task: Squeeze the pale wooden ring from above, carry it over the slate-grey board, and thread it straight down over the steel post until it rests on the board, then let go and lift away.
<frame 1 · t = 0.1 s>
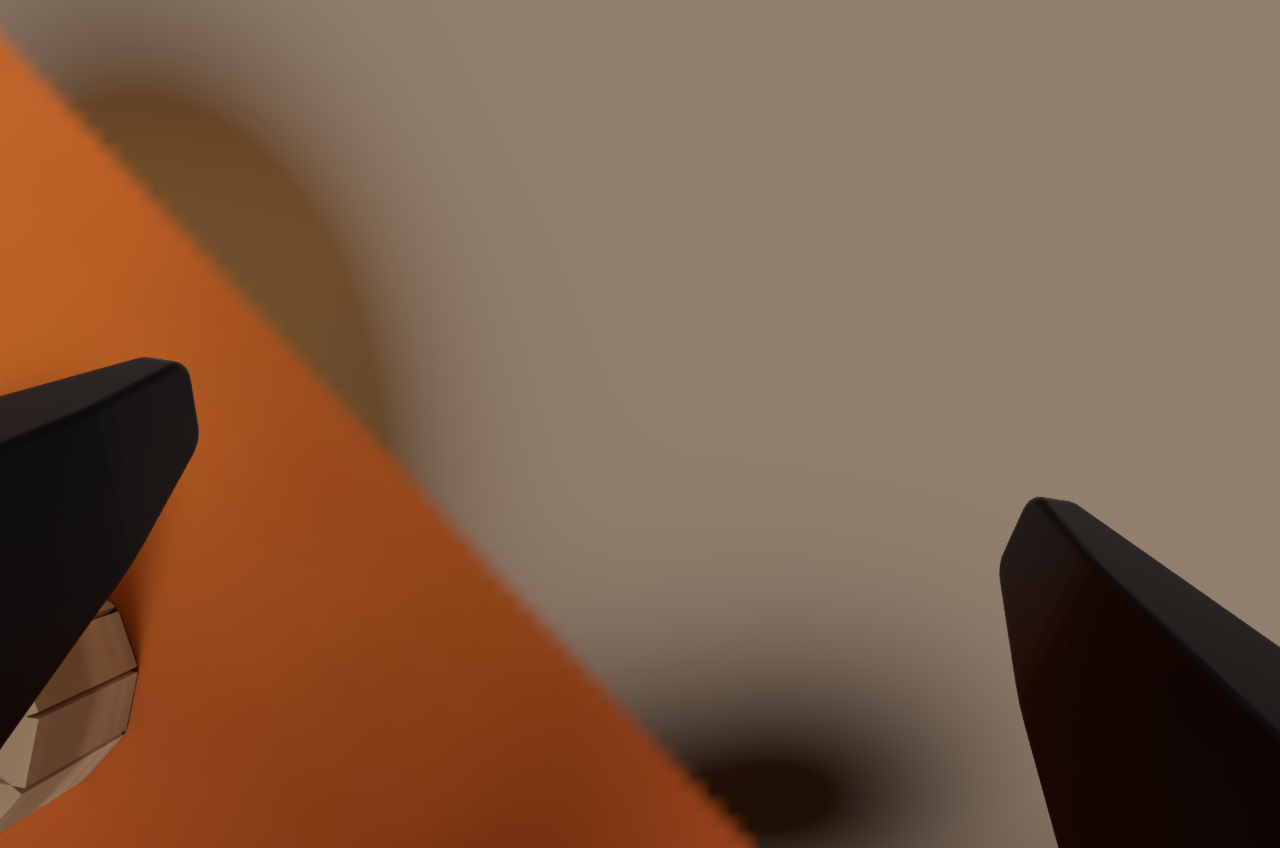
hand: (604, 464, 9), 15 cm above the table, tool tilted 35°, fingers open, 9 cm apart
wooden ring: (13, 678, 24), on the table
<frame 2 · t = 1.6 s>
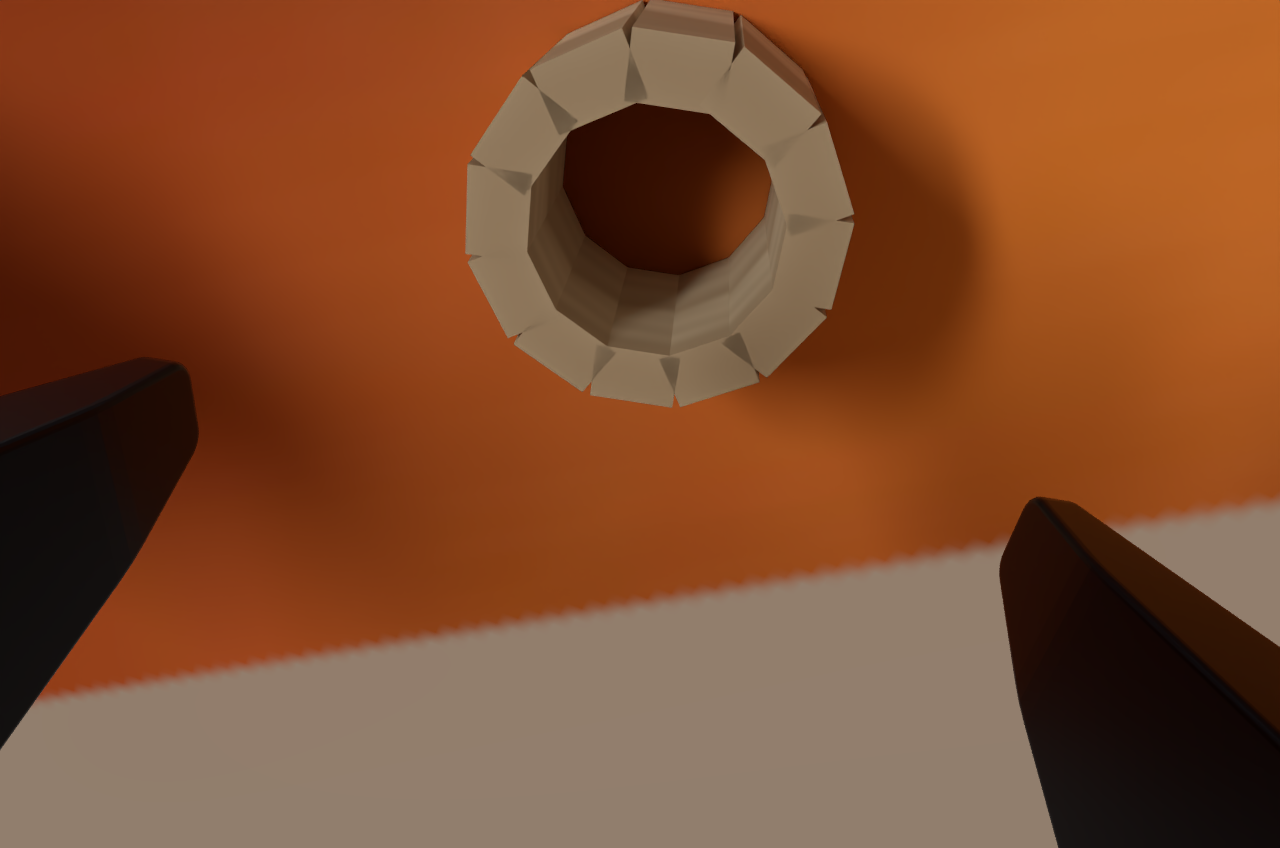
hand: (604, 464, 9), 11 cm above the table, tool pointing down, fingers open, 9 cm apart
wooden ring: (667, 174, 19), on the table
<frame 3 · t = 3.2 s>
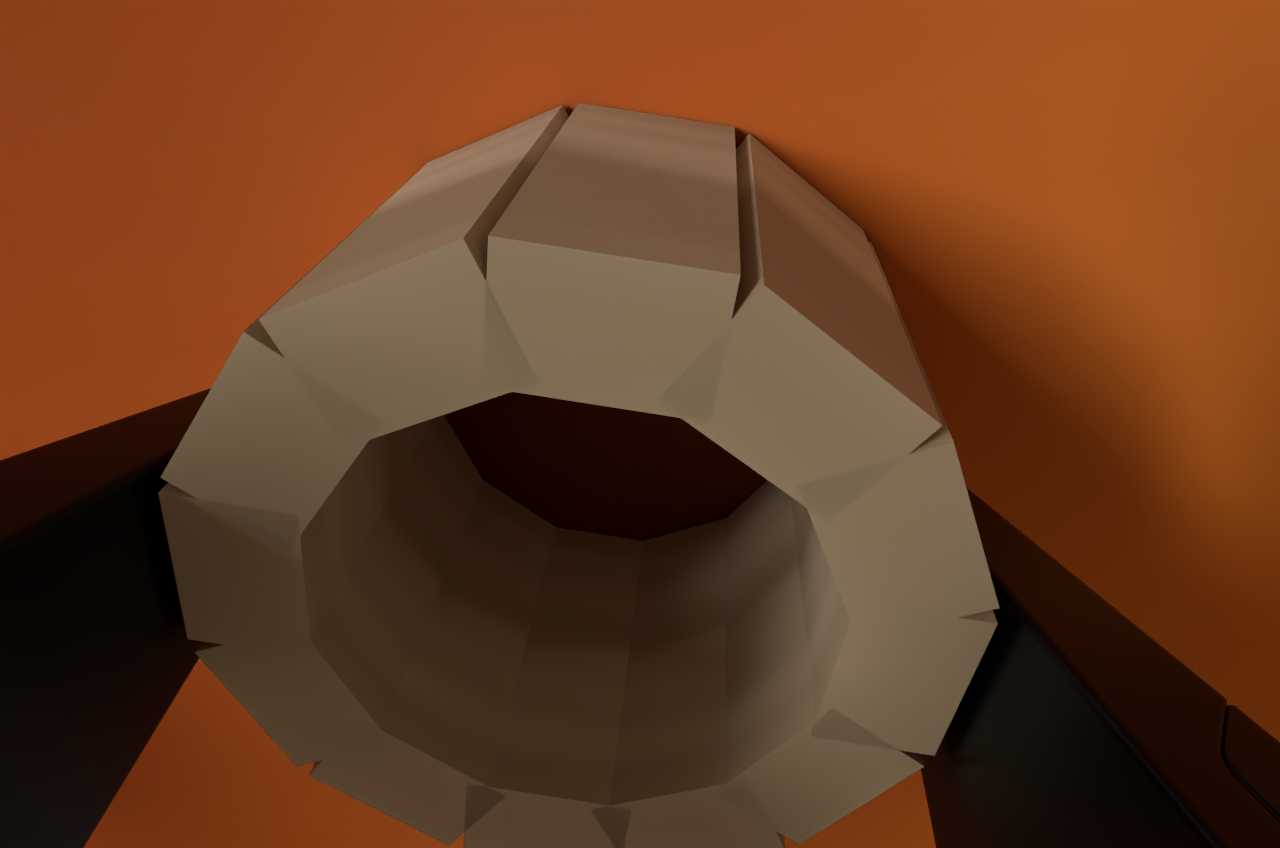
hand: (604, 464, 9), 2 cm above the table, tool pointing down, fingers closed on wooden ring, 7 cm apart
wooden ring: (618, 393, 11), on the table, touching gripper
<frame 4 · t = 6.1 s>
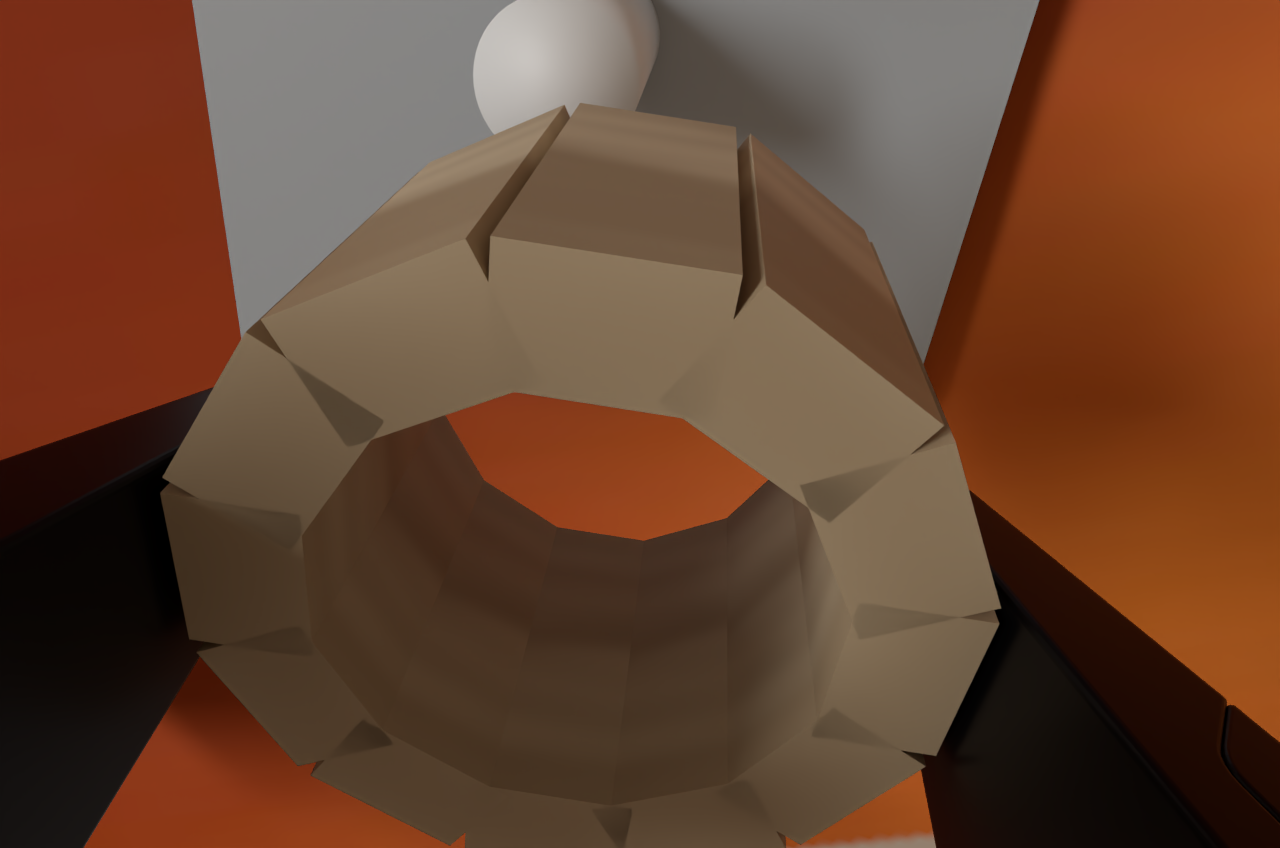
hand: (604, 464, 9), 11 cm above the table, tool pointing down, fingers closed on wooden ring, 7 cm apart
post board: (603, 28, 18), on the table
wooden ring: (619, 393, 11), point 10 cm above the table, touching gripper
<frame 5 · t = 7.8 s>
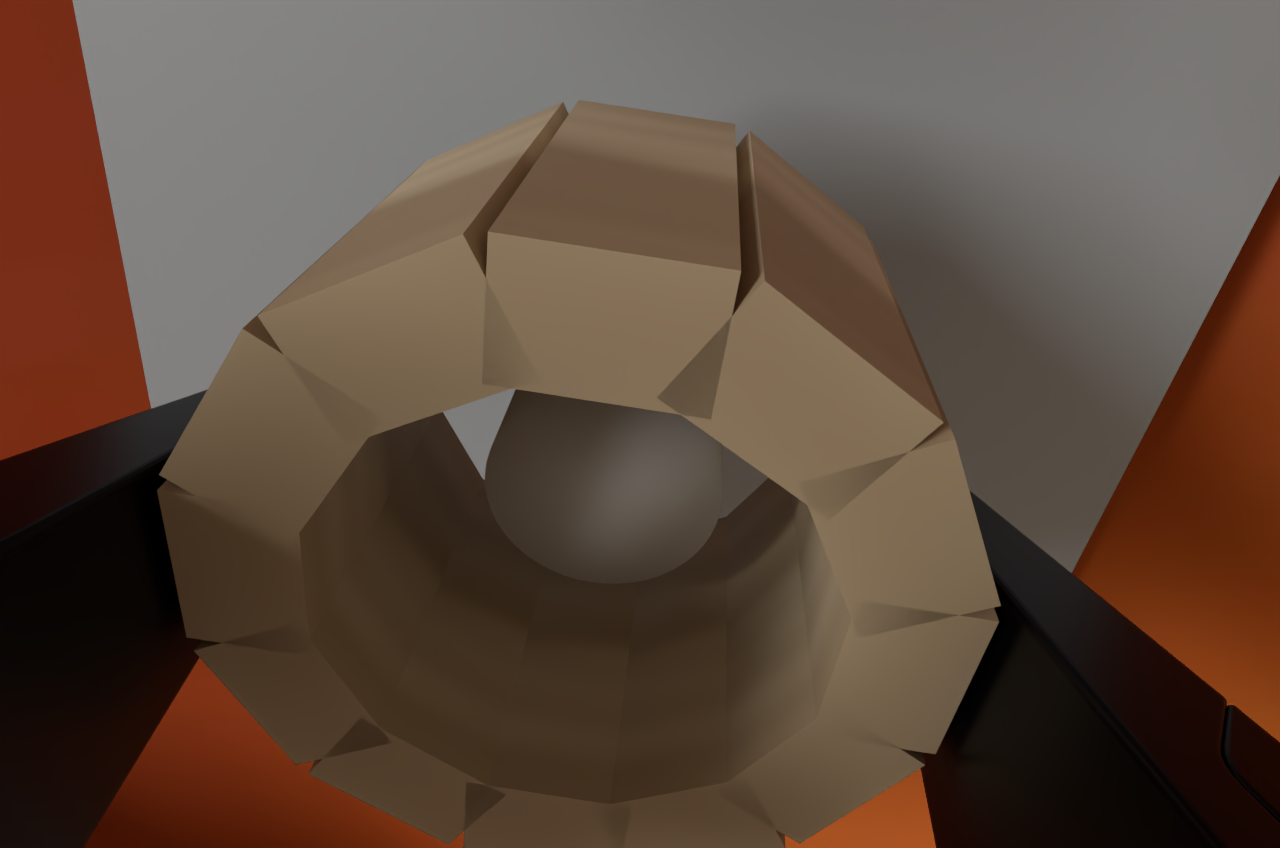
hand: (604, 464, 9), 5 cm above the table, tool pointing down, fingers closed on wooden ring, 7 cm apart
post board: (647, 271, 14), on the table
wooden ring: (618, 391, 11), point 4 cm above the table, touching gripper
when the fingers open (4 cm above the table, at t = 9.1 s): wooden ring drops 1 cm, resting on post board.
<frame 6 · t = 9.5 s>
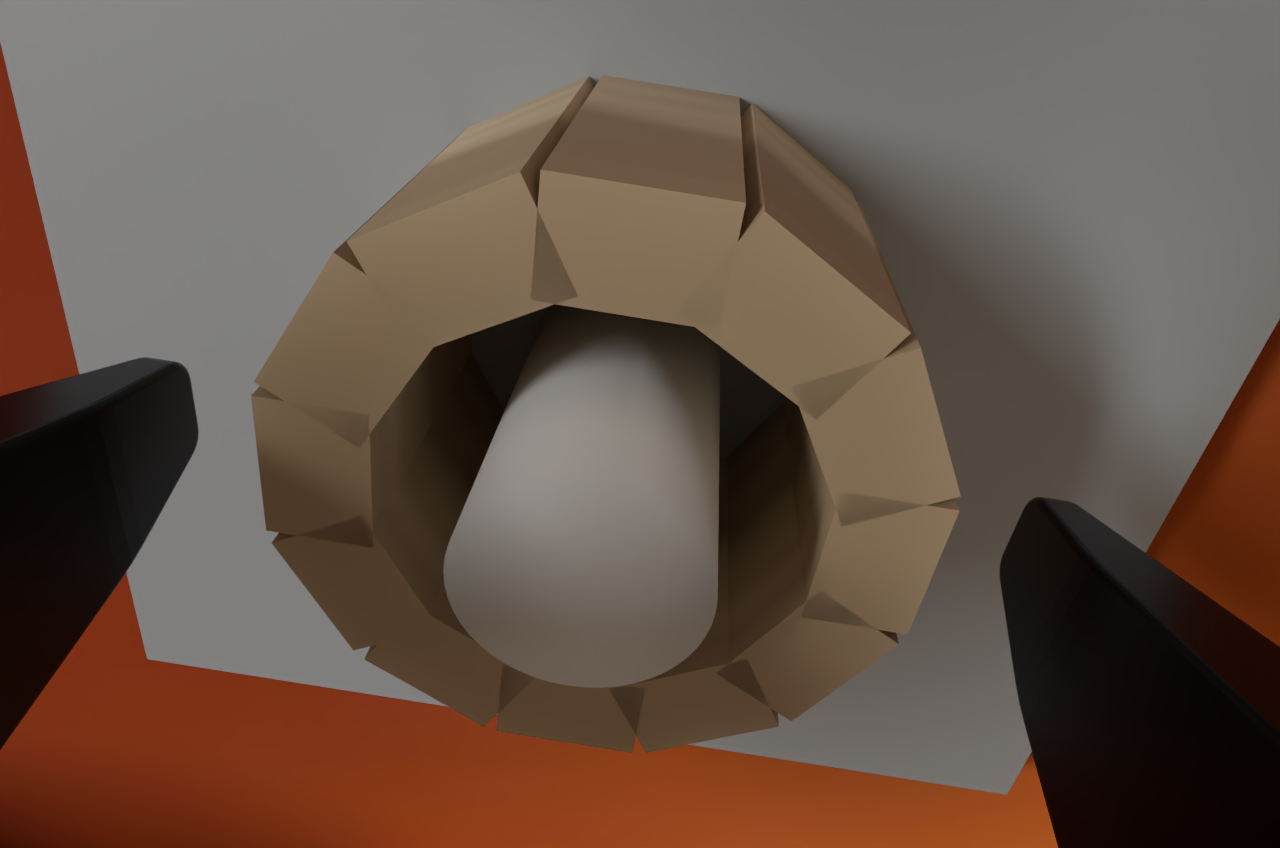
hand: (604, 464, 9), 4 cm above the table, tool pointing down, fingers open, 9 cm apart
post board: (638, 309, 13), on the table
wooden ring: (633, 339, 12), point 1 cm above the table, touching post board
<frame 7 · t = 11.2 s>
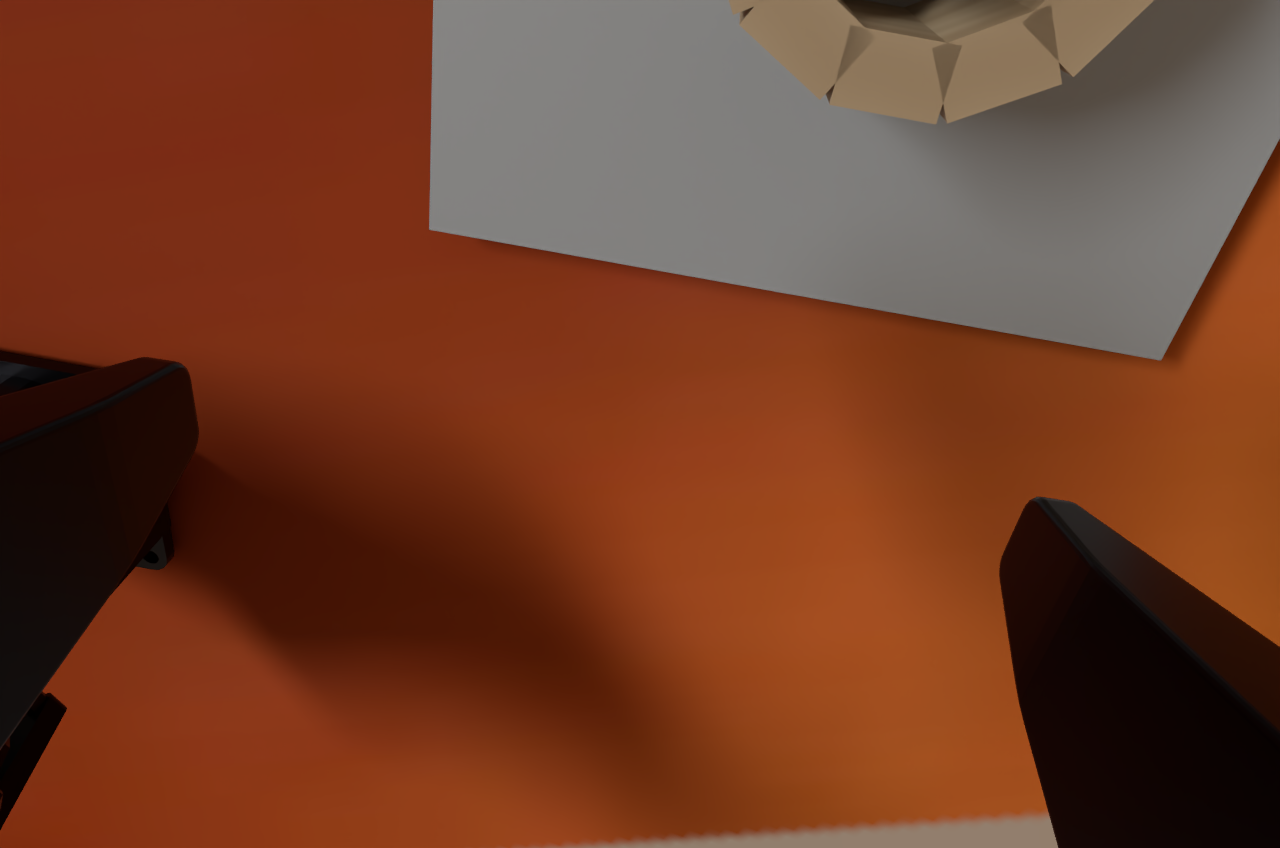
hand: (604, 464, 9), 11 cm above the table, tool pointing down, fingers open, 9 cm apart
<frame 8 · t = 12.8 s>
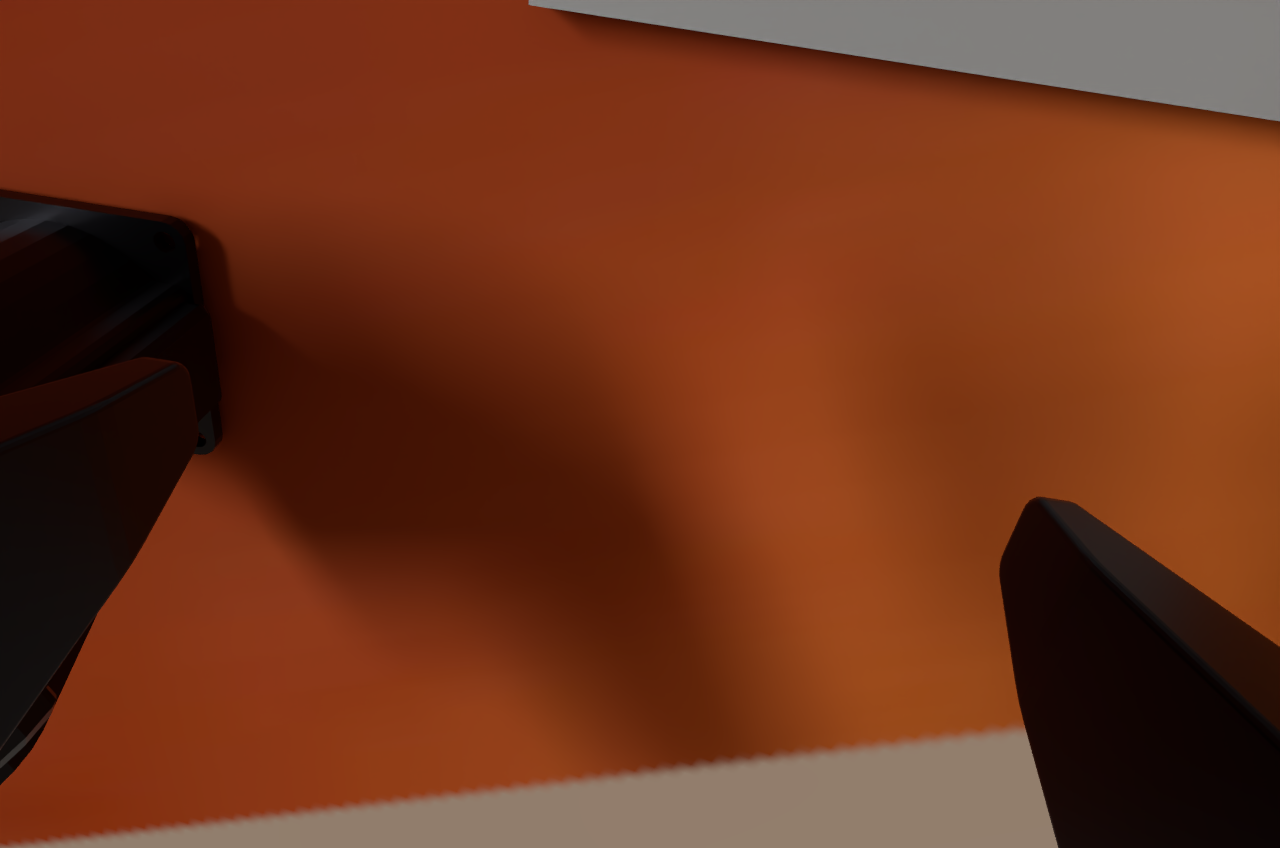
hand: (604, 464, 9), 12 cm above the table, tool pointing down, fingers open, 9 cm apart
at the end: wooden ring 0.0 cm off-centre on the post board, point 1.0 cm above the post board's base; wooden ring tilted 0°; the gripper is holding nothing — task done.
